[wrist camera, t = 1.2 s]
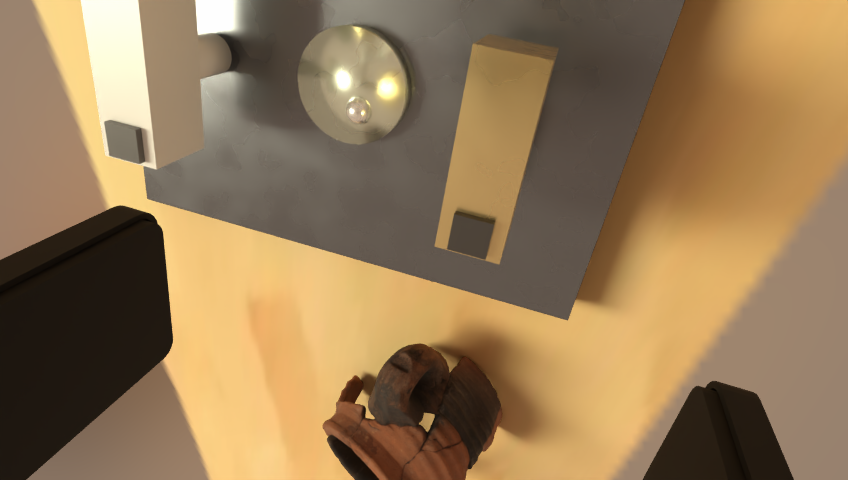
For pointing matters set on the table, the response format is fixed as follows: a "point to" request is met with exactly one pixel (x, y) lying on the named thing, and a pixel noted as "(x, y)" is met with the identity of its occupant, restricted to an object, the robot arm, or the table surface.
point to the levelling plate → (415, 130)
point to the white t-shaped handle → (150, 76)
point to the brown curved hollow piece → (415, 419)
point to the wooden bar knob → (493, 144)
